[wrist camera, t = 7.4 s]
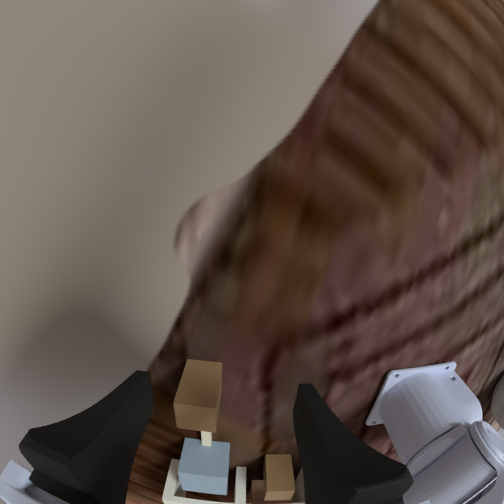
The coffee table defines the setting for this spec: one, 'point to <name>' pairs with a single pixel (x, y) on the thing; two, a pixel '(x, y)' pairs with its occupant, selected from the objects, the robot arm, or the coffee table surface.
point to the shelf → (176, 500)
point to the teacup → (498, 403)
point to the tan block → (274, 481)
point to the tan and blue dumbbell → (201, 428)
